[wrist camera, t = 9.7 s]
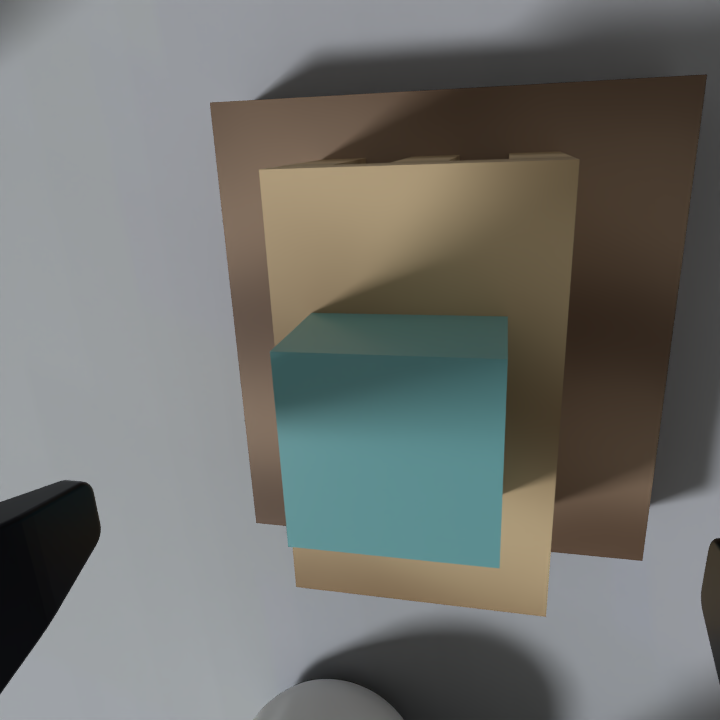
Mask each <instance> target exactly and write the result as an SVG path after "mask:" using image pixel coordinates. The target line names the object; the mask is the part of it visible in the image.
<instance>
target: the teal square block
mask: <svg viewBox="0 0 720 720" xmlns="http://www.w3.org/2000/svg"><path fill="white" fill-rule="evenodd" d="M270 358H271V369H272V379H273V390H274V401H275V411H276V422H277V432H278V443H279V453H280V464H281V474H282V485H283V495H284V506H285V516H286V527H287V538H288V547H296V548H306V549H316V550H325V551H335V552H345V553H354V554H364V555H374V556H383V557H393V558H403V559H412V560H422V561H432V562H441V563H451V564H461V565H471V566H480V567H490V568H500V546H501V520H502V495H503V469H504V443H505V418H506V392H507V367H508V316H454V315H399V314H344V313H311V314H310V315H309V316H307V317H306V318H305V319H304V320H303V321H302V322H301V323H300V324H299V325H298V326H297V327H296V328H295V329H293V330H292V331H291V332H290V333H289V334H288V335H287V336H286V337H285V338H284V339H283V340H282V341H281V342H280V343H278V344H277V345H276V346H275V347H274V348H273V349H272V350H271V351H270Z"/></svg>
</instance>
